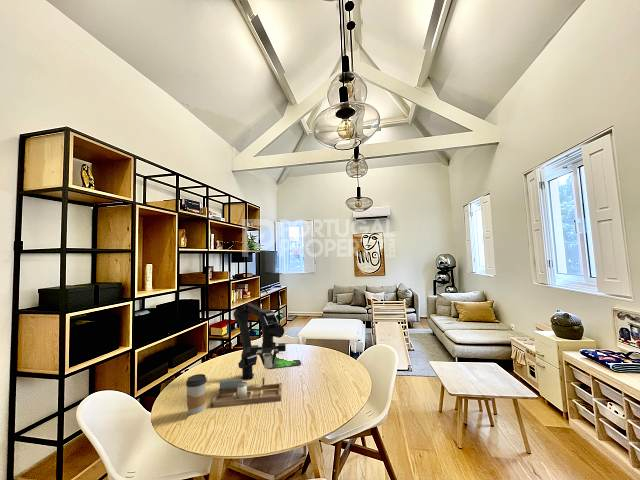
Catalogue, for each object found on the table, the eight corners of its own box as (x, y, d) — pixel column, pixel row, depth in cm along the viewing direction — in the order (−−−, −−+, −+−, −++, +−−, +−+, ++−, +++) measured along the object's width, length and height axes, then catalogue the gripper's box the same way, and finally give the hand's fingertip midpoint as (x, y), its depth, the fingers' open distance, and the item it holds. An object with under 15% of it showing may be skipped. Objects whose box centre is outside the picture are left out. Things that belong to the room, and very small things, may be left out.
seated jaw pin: (238, 396, 125) (238, 382, 126) (247, 395, 126) (247, 381, 127) (236, 401, 121) (236, 386, 122) (246, 400, 122) (246, 385, 122)
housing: (220, 393, 132) (220, 381, 133) (281, 387, 136) (281, 376, 137) (211, 410, 116) (211, 397, 117) (280, 403, 120) (280, 390, 121)
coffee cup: (210, 410, 116) (210, 375, 117) (193, 420, 109) (193, 383, 110) (198, 406, 120) (199, 372, 122) (181, 415, 113) (182, 379, 114)
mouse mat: (266, 355, 187) (266, 354, 187) (296, 352, 192) (296, 351, 192) (266, 370, 161) (266, 368, 161) (302, 366, 165) (302, 364, 166)
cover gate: (220, 389, 133) (220, 380, 134) (242, 387, 135) (242, 378, 135) (219, 391, 131) (219, 382, 131) (242, 389, 132) (242, 380, 133)
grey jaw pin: (264, 365, 141) (264, 353, 141) (272, 365, 141) (272, 352, 142) (263, 368, 136) (263, 355, 137) (272, 368, 137) (272, 355, 138)
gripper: (247, 340, 131) (248, 372, 130) (285, 337, 134) (285, 369, 132) (251, 334, 142) (251, 364, 141) (285, 332, 145) (285, 361, 143)
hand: (268, 364), depth 139 cm, fingers closed on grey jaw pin, 4 cm apart
